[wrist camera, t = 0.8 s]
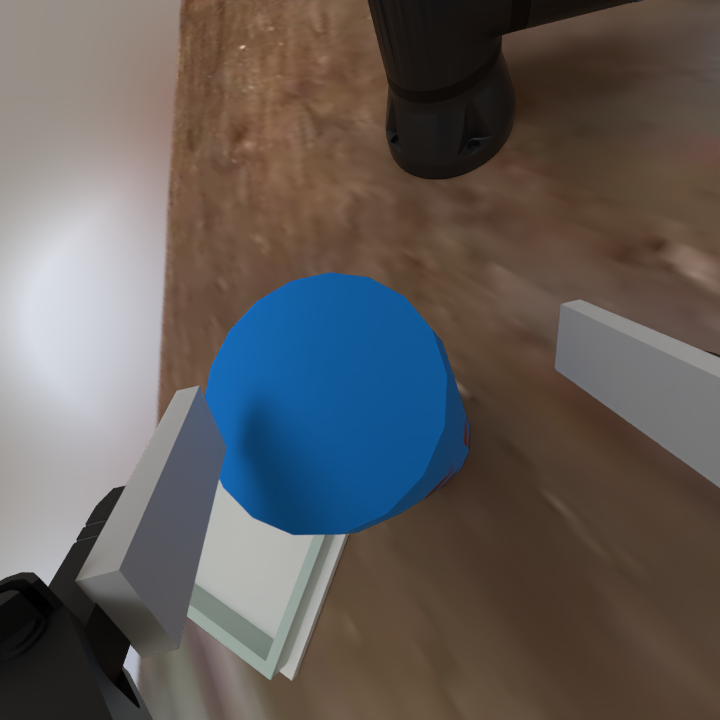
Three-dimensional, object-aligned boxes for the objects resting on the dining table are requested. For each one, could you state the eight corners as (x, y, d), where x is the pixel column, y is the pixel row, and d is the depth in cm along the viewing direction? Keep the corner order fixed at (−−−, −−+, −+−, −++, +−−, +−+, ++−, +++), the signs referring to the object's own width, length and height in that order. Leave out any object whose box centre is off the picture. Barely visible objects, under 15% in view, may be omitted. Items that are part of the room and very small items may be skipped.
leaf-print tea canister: (346, 422, 40) (167, 368, 17) (426, 363, 39) (348, 222, 16) (404, 514, 36) (268, 605, 13) (495, 450, 35) (521, 427, 12)
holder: (232, 427, 44) (208, 424, 40) (365, 490, 38) (351, 493, 34) (167, 577, 42) (135, 589, 38) (297, 673, 35) (275, 699, 31)
